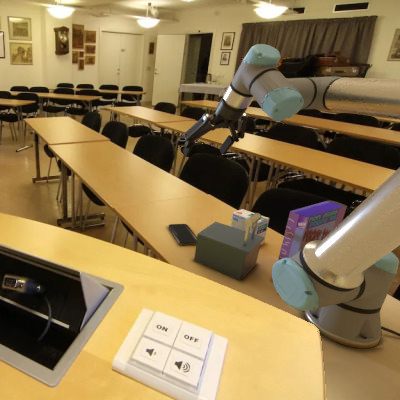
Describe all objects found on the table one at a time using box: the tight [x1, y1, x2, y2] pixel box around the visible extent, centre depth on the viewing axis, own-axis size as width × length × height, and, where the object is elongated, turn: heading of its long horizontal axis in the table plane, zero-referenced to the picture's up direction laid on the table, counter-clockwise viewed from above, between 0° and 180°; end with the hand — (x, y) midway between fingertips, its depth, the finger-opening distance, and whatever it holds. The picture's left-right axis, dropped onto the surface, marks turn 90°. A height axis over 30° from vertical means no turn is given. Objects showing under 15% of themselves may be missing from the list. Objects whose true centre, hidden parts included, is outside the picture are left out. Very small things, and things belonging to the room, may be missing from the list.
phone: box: [168, 223, 197, 246], centre depth 127 cm, size 8×1×15 cm
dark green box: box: [193, 235, 261, 281], centre depth 107 cm, size 16×13×10 cm
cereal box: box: [277, 199, 348, 261], centre depth 95 cm, size 17×5×24 cm, turn 114°
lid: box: [196, 212, 266, 254], centre depth 103 cm, size 16×13×10 cm
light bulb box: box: [230, 208, 270, 246], centre depth 120 cm, size 11×7×11 cm, turn 32°
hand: (203, 152), depth 108 cm, fingers open, 13 cm apart
